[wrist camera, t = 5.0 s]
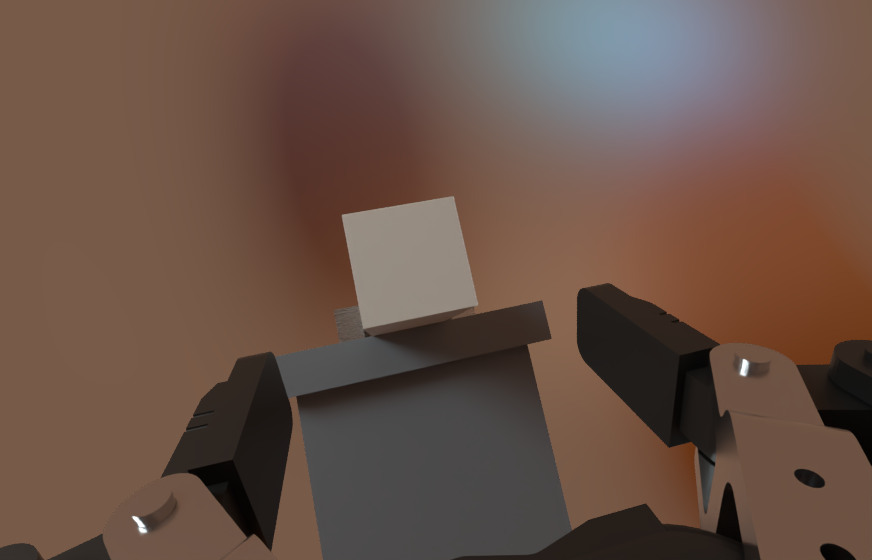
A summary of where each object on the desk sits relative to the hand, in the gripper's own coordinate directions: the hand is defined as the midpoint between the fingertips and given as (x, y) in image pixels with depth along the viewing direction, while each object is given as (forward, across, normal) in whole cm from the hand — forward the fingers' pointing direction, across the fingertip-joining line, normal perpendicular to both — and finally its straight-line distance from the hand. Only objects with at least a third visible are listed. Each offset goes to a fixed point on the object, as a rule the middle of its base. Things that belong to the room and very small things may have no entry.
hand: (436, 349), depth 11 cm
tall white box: (+12, 0, +6) cm, 13 cm away
